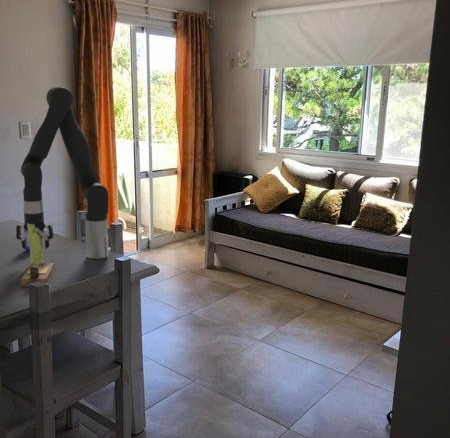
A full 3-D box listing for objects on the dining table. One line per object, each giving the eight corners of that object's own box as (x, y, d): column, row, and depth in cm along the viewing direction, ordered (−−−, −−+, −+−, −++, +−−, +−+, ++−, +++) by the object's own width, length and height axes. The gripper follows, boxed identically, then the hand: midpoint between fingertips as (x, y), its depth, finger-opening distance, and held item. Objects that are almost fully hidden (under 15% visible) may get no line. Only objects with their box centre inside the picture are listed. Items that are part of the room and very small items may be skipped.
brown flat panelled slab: (55, 269, 199) (54, 253, 197) (46, 286, 182) (45, 268, 180) (32, 270, 197) (30, 254, 196) (21, 286, 180) (20, 269, 179)
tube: (42, 266, 202) (40, 221, 197) (29, 267, 201) (26, 221, 196) (44, 262, 207) (41, 218, 203) (31, 262, 206) (29, 218, 202)
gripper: (53, 208, 203) (55, 245, 207) (17, 208, 201) (20, 246, 205) (50, 212, 196) (52, 251, 200) (13, 213, 194) (15, 251, 198)
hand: (35, 248), depth 203 cm, fingers open, 8 cm apart
